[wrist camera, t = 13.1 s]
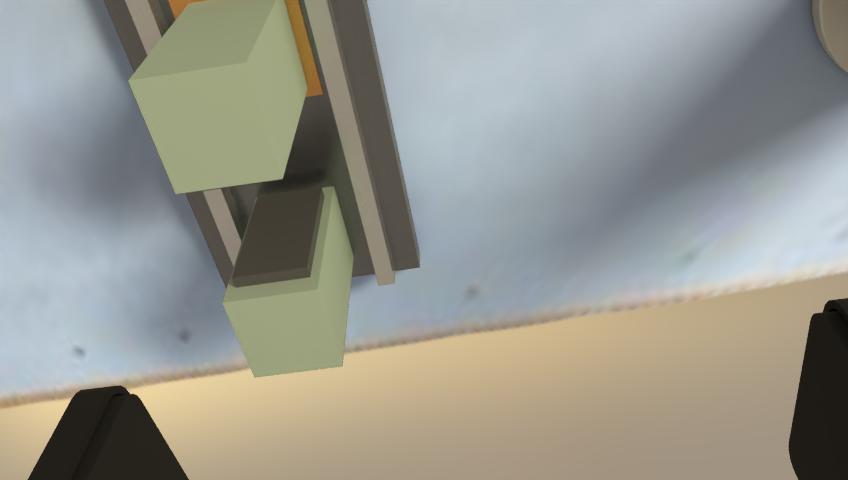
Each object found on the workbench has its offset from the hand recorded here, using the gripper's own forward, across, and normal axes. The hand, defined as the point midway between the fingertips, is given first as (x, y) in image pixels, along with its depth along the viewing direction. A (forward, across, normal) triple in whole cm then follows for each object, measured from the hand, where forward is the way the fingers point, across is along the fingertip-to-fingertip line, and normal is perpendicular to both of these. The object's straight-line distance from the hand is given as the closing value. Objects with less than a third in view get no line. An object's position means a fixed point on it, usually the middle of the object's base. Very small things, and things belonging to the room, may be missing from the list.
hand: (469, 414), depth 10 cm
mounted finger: (+27, +11, +14) cm, 32 cm away
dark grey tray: (+29, +11, +8) cm, 32 cm away
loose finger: (+27, +10, +3) cm, 29 cm away
